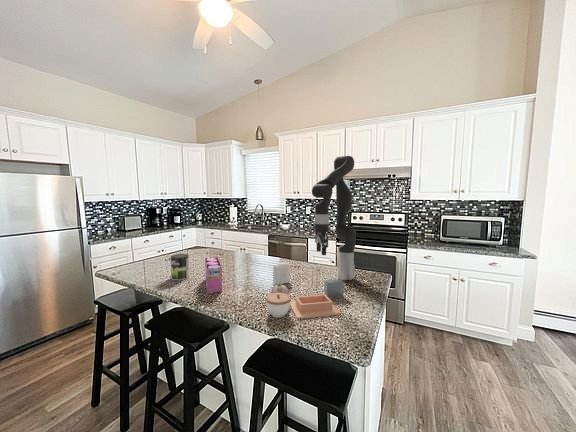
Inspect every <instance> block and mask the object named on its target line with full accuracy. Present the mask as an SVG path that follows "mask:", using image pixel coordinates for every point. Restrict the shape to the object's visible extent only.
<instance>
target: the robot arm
mask: <svg viewBox="0 0 576 432" xmlns="http://www.w3.org/2000/svg"><path fill="white" fill-rule="evenodd" d="M354 168H355V159H354V157H353V156H351V155H344V156H337V157H335V159H333V170H332V171H330V172H329V173H328V174H327V175H326V176H325V177H324V178H323V179H321V180H320V181H318V182H316V183H315V184H314V185H313V186H312V189H311V194H312V196H313V197H314V198H316V199H317V198H318V199H320V198H321V199H322V200H321V201H320V202H316V203H315V205H314V206H315V207H314V219H313V220H314V222H313V223H314V232H315V233H314V234H315V236H314V237H315V238H314V243H315V244H316V252H321V255H322V256H326V255H327V248H329V236H328V235H326V233H328V232H329V231H330V229H329V228H330V216H329V214H330V213H329V212H330V211H329V210H330V209H329V207H330V202H331V198H332V195H333V189H334V187H335V189H336V190H335V191H336V192H335V193H336V195H335V196H336V197H335V199H336V227H335V228H336V229H335V230H336V231H335V232H336V233H335V234H336V238H337V239H338V240H341V241H344V245H343V244H342V245H340V246H338V260H337V261H338V262H337V263H338V266H337V267H338V268H337V278H338V279H341V280H342V281H345V280H350V281H353V280H355V272H356V271H355V267H356V265H355V262H354V258H355V257H354V256H355V255H354V254H355V248H356V241H357V238H356V237H357V231H356V228H355V227H354V226H351V225H347V215H348V214H349V212H350V210H351V208H352V205H353V197H352V192H351V190H350V188H349V187H348V185H347V183H346V182H345V179H344V177H345V176H346V175H348V174H349V173H351V172H352V170H353V169H354ZM352 279H353V280H352Z"/></svg>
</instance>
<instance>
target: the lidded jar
mask: <svg viewBox="0 0 576 432" xmlns="http://www.w3.org/2000/svg"><path fill="white" fill-rule="evenodd" d="M265 301H266V305H265V306H266V309H267V311H268V313H269V314H270V315H271V316H272V318H277V319H278V318H283V317H285V316H286V315H287V313H288V312H289V311H290V308H291V307H290V302H291V296H290V294H289V295H288V294H285V293H272V294H271V293H270V294H267V296H266V297H265Z"/></svg>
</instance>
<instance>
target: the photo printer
mask: <svg viewBox="0 0 576 432" xmlns="http://www.w3.org/2000/svg"><path fill="white" fill-rule="evenodd" d="M290 269H291V267H290V263H289V262H278V263H276V264H274V265H273V268H272V270H273V271H272V273H273V275H272V278H273V279H272V282H273V285H274V286H275V285H277V284H279V283H280V284H282V285H284V284H288V283H290V278H291V277H290V275H291V274H290V272H291V270H290Z"/></svg>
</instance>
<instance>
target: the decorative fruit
mask: <svg viewBox="0 0 576 432" xmlns="http://www.w3.org/2000/svg"><path fill="white" fill-rule="evenodd" d="M289 291H290V290H289V289H288V288H287V286H286V285H284V284H280V283H279V284H277V285H274V286H273V287H271V290H270V294H272V293H285V294H288V295H289V296H290V292H289Z"/></svg>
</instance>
